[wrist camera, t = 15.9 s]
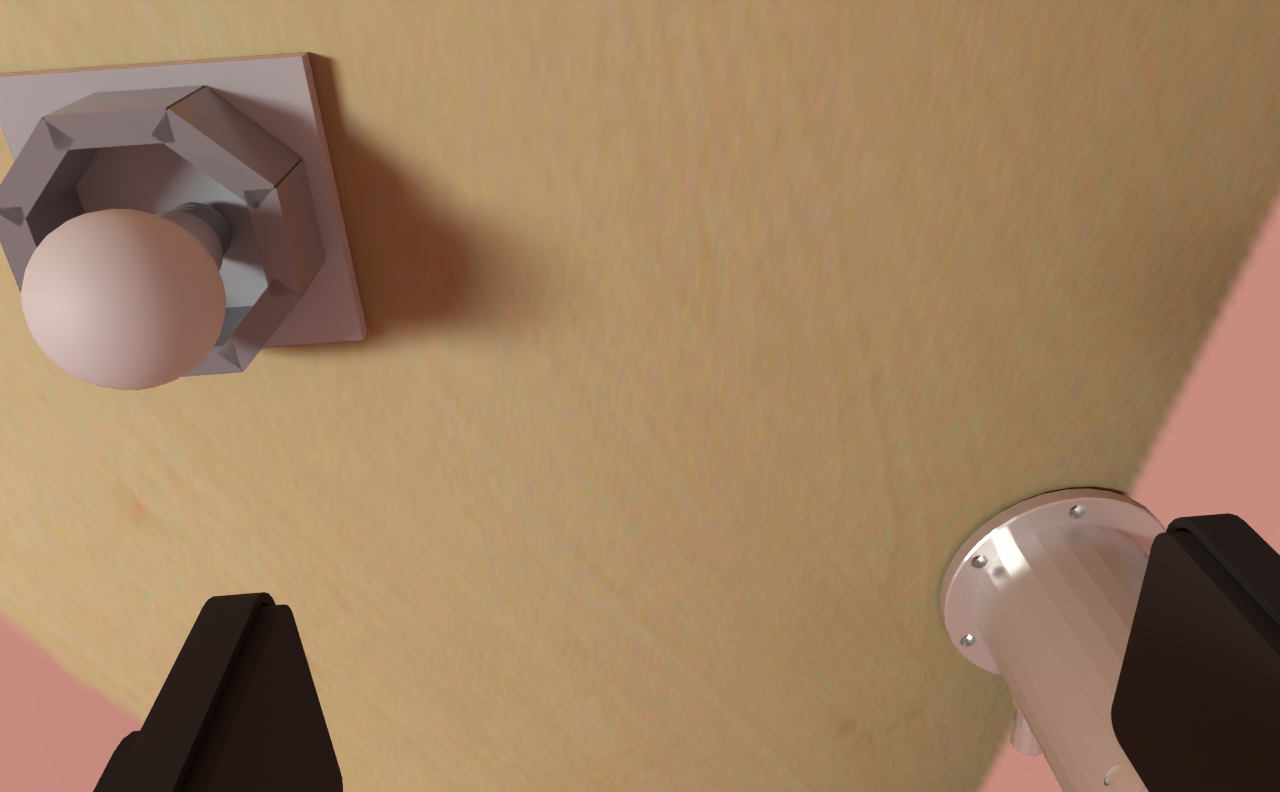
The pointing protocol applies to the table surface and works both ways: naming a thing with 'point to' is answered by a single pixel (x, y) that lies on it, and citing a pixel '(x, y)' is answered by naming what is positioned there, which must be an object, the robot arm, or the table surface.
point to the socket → (194, 182)
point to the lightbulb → (129, 294)
